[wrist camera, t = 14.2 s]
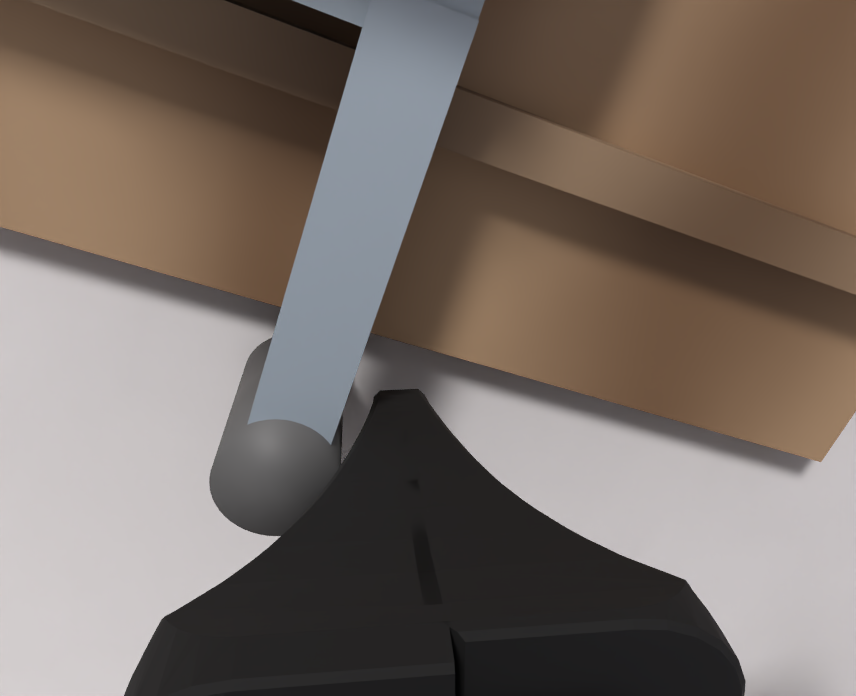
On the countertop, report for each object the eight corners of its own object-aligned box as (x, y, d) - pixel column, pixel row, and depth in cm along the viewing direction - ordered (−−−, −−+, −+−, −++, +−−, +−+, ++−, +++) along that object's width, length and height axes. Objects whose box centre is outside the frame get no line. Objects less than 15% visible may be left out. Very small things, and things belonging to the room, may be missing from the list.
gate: (480, -8, 10) (527, -19, 7) (328, 431, 13) (320, 547, 10) (-246, -308, 8) (-570, -479, 5) (-232, 290, 11) (-438, 385, 8)
